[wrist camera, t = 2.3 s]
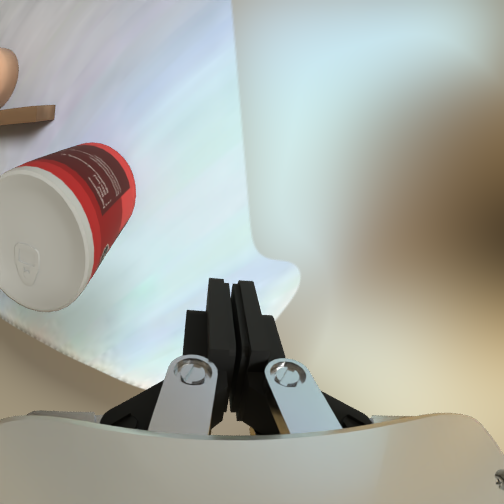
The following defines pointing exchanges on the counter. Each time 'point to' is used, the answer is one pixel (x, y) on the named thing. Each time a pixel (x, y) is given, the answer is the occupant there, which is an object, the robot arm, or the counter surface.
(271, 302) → the counter surface
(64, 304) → the canned food
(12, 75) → the peach egg shape
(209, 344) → the robot arm
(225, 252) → the counter surface
